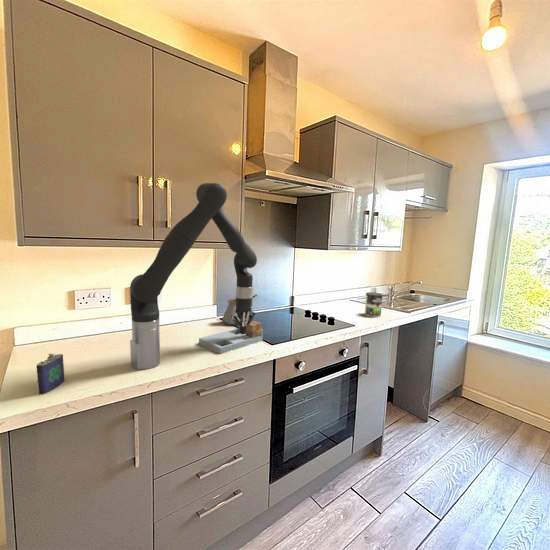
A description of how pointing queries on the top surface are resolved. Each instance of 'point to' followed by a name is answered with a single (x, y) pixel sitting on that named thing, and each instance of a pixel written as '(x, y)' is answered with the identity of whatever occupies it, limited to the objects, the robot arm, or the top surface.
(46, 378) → the flask
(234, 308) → the coffee pot
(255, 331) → the block
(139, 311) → the robot arm
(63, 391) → the top surface
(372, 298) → the coffee can
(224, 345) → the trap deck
